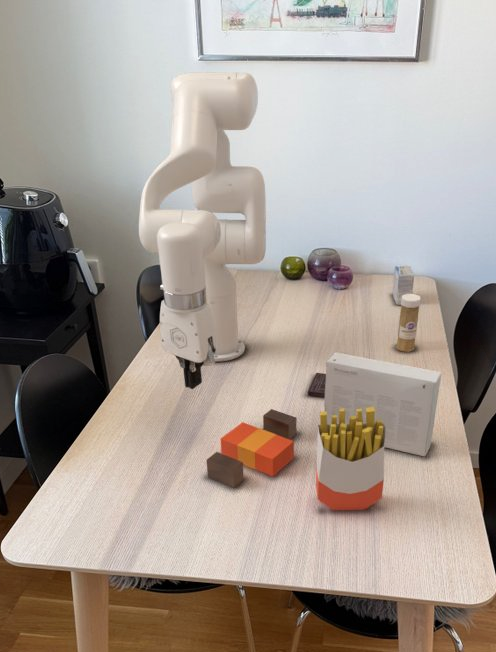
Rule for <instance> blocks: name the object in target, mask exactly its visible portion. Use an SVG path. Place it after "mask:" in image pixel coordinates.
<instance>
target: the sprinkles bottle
mask: <svg viewBox="0 0 496 652" xmlns="http://www.w3.org/2000/svg"><path fill="white" fill-rule="evenodd" d="M421 301H422V297H421V296H420V295H418V294H415V293H412V294H405V295H403V296H402V297H401V305H400V313H399V317H398V318H399V319H398V327H397V342H396V349H397V350H398V351H400V352H404V353H405V352H407V353H410V352H413V351H414V350H415V348H416V347H415V344H416V337H417V330H418V321H419V310H420V306H421Z"/></svg>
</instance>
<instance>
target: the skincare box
mask: <svg viewBox="0 0 496 652" xmlns="http://www.w3.org/2000/svg"><path fill="white" fill-rule="evenodd" d="M325 374H326V385H325V398H323V399H324V400H323V401H324V403H323V404H324V405H323V406H324V408H323V410H324V411H323V412H325V411H327V425H331V423H332V415H337V424H339V411H340V409H345V424H349V420H350V417H351V416H356V418H357V409H361V410H362V419H363V424H366V408H369V407H374V410H375V420H374V424H376V419H382V423H384V425H385V428H386V437H385V447H384V448H385V449H386V448H387V449H391V450H395V451H399V452H404V453H407V454H412V455H416V456H421V457H425V456H426V455H427V453H428V452H429V451H430V448H431V446H432V440H433V433H434V426H435V420H436V413H437V407H438V406H437V405H438V399H439V393H440V387H441V380H442V379H441V378H442V371H438V370H432V369H426V368H420V367H416V366H411V365H406V364H400V363H395V362H391V361H390V362H389V361H384V360H379V359H372V358H368V357H363V356H357V355H351V354H348V353H347V354H346V353H341V352H337V351H336V352H334V353H333V354H332V355H331V356H330V357H329V358H328V359H327V360H326V362H325ZM356 422H357V420H356Z"/></svg>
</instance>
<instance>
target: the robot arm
mask: <svg viewBox="0 0 496 652" xmlns="http://www.w3.org/2000/svg"><path fill="white" fill-rule="evenodd" d="M170 97H171V101H172V116H171V126H170V127H171V128H170V142H169V153H168V156H167V157H166V158H165V159H164V160H163V161H161V162H160V164H159V165H157V166H156V168H155V169H154V170H153V171H152V173H151V174H150V175H149V177H148V178H147V180H146V181H145V184H144V186H143V189H142V191H141V196H140V203H139V204H140V205H139V214H138V215H139V217H138V236H139V241H140V244H141V247H143V249H144V250H145V251H147V252H149V253H151V254H158V259H159V267H160V268H159V269H160V273H161V275H160V276H161V284H160V288H159V289H160V291H161V292H163V300H161V303H160V311H159V333H160V344H161V348H162V350H163V351H165V352H166V353H168V354H170V355H173V356H175V358H176V359H177V360H178V364H179V367H180V368H181V369H183V379H184V387H185V388H187V389H188V388H189V389H191V390H194V389H195V388H196V387H198V386H199V385H201V384H202V383H203V377H202V367H203V366H205V367H211V366H213V365H215V363H216V362H227V361H232V360H235V359H237V358H239V357H241V356H242V355H243V354H244V353H245V350H246V344H245V342H244V341H242V340H241V339H240V338H239V325H238V323H239V321H238V301H237V283H236V279H235V277H234V274H233V273H232V271H231V270H230V268H229V267H228V266H227V265H256V264H257V265H258V264H260V263H261V262H262V261H263V260H264V259H265V256H266V251H267V250H266V249H267V222H266V221H267V213H266V212H267V211H266V209H267V208H266V207H267V206H266V205H267V203H266V201H267V200H266V199H267V198H266V183H265V179H264V175H263V173H262V172H261V171H260V169H258V168H257V167H253V166H243V165H242V166H240V165H239V166H238V165H237V166H235V165H232V164H231V143H230V139H229V137H228V135H227V133H226V132H225V131H244V130H245V131H246V130H247V129H248V128H249V127H250V126H251V124H252V122H253V119H254V118H255V115H256V112H257V109H258V103H259V91H258V85H257V82H256V80H255V78H254V77H253V75H252V74H251V73H248V72H237V71H236V72H213V71H212V72H211V71H210V72H209V71H208V72H207V71H201V72H186V73H182V74H178V75H176V76H175V77H174V78H173V79H172V81H171V82H170ZM189 184H191V197H192V201H193V205H194V206H195V208H196V209H160V207H161V204H162V203H163V202H164V200H165V199H166V197H168V196H169V195H170V194H172V193H173V192H175V191H177V190H179V189H181V188H183V187H185V186H187V185H189ZM215 214H241V215H243V216H244V218H245V219H221V218H220V219H218V217H217V215H215Z"/></svg>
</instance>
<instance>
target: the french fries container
mask: <svg viewBox="0 0 496 652" xmlns="http://www.w3.org/2000/svg"><path fill="white" fill-rule="evenodd" d="M356 420H357V422H356ZM374 420H375V410H374V407H369V408H366V424H363V419H362V410H361V409H357V418H356V416H351V417H350V420H349V424H345V409H340V411H339V424H337V415H332V423H331V425H327V411H325V412H324V411H320V412H319V423H320V424H317V439H316V440H317V445H316V446H317V447H316V470H315V488H316V496H317V500H318V501H319V502H320V503H322V504H323V505H325V506H326V507H327V508H329V509H330V510H332V511H363V510H365V511H366V509H368V508H369V507H372V505H374V504H375V503H377V502H378V501H380V500H381V499H382V498H383V489H384V481H385V478H384V477H385V448H386V447H385V437H386V428H385V425H384V423H382V419H376V424H374Z"/></svg>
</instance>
